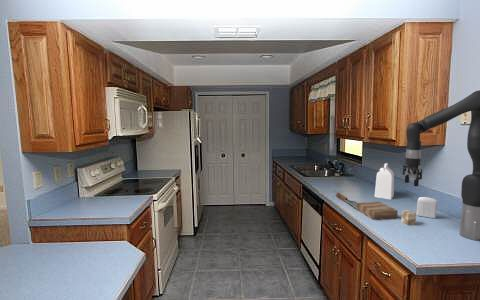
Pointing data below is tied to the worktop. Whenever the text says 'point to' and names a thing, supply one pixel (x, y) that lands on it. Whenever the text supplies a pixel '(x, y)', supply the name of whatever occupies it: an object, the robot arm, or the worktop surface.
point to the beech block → (408, 217)
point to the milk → (384, 183)
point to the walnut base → (377, 210)
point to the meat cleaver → (347, 200)
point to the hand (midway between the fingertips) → (411, 184)
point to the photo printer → (426, 207)
